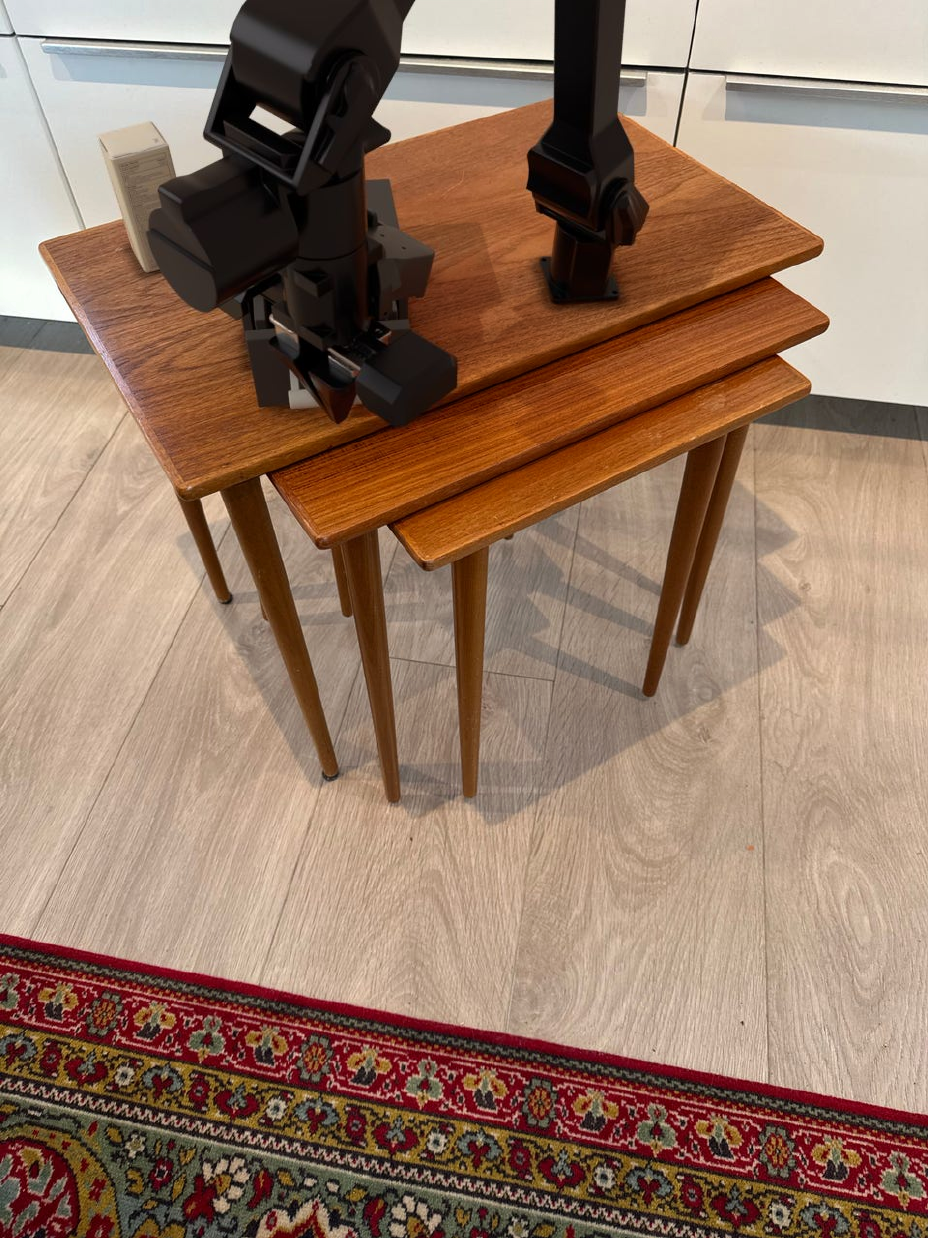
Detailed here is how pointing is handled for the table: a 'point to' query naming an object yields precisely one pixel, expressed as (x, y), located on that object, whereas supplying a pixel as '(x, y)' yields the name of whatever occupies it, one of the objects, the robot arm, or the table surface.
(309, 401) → the drawer
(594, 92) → the robot arm
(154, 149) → the box
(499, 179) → the table surface
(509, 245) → the table surface
